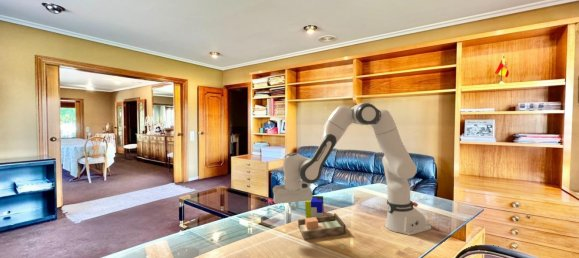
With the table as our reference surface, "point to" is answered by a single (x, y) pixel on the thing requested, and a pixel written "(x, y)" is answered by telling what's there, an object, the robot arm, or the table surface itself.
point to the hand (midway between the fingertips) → (293, 209)
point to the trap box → (323, 227)
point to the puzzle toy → (314, 207)
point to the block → (311, 223)
